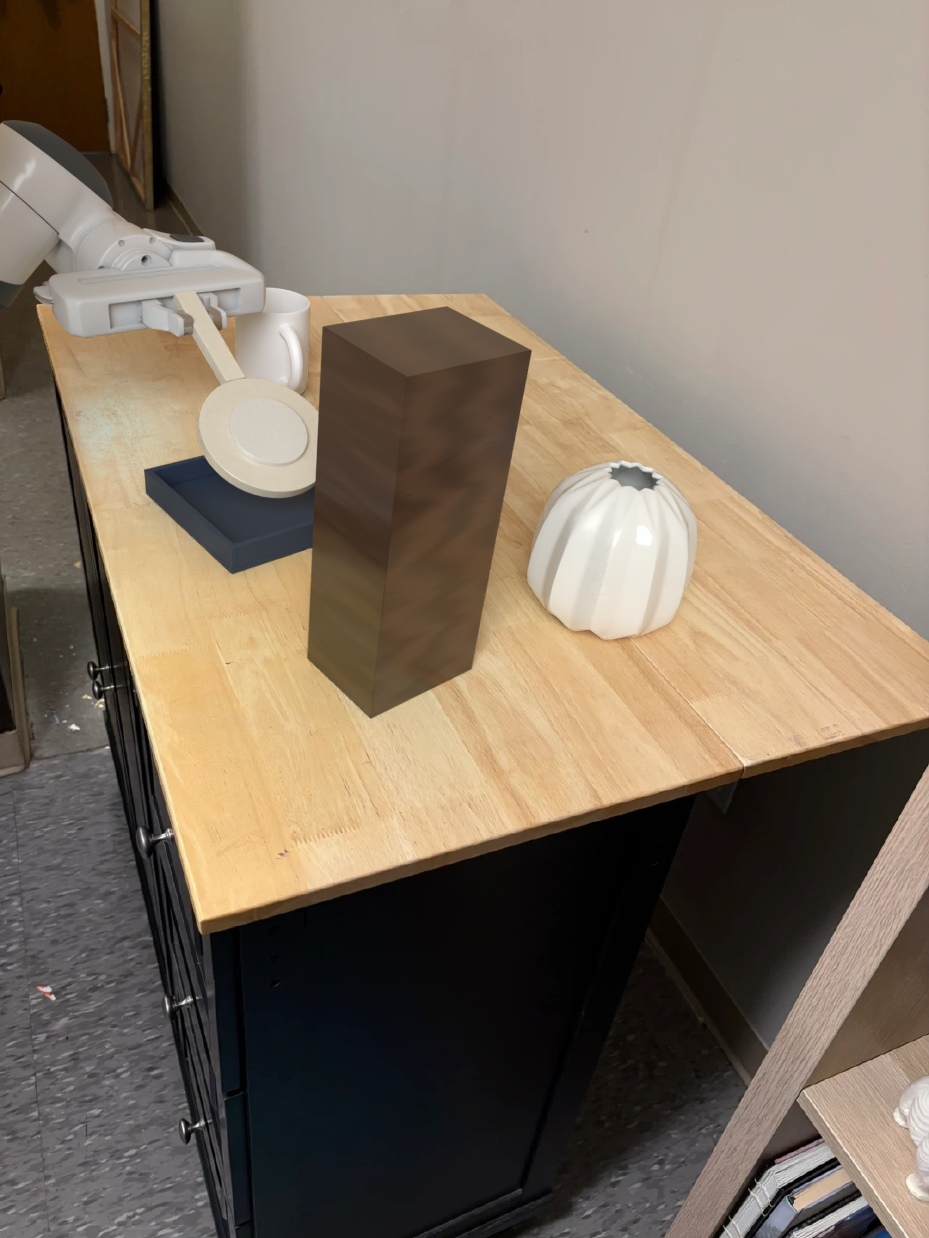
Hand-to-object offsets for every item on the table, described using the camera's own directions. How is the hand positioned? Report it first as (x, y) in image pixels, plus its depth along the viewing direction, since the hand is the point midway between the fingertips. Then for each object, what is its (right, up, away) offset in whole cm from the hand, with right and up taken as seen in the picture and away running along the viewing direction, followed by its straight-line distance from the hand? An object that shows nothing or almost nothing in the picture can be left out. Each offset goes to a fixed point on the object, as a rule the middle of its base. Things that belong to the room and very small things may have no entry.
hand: (203, 325), depth 83 cm
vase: (+35, -26, -3) cm, 44 cm away
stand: (+18, -30, -12) cm, 37 cm away
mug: (+2, -1, +23) cm, 23 cm away
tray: (+5, -16, +3) cm, 17 cm away
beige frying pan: (+3, -7, 0) cm, 7 cm away
